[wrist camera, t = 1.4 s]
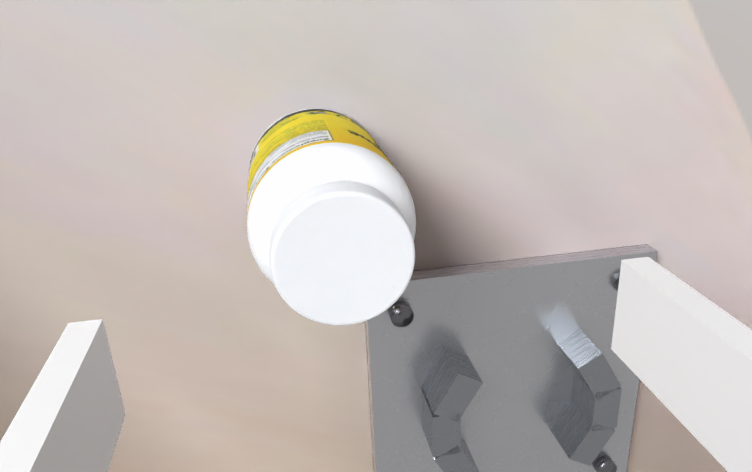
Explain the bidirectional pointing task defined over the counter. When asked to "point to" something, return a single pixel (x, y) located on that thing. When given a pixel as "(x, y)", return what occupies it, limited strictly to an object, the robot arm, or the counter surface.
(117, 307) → the counter surface
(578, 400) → the collar
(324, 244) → the pill bottle
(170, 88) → the counter surface
